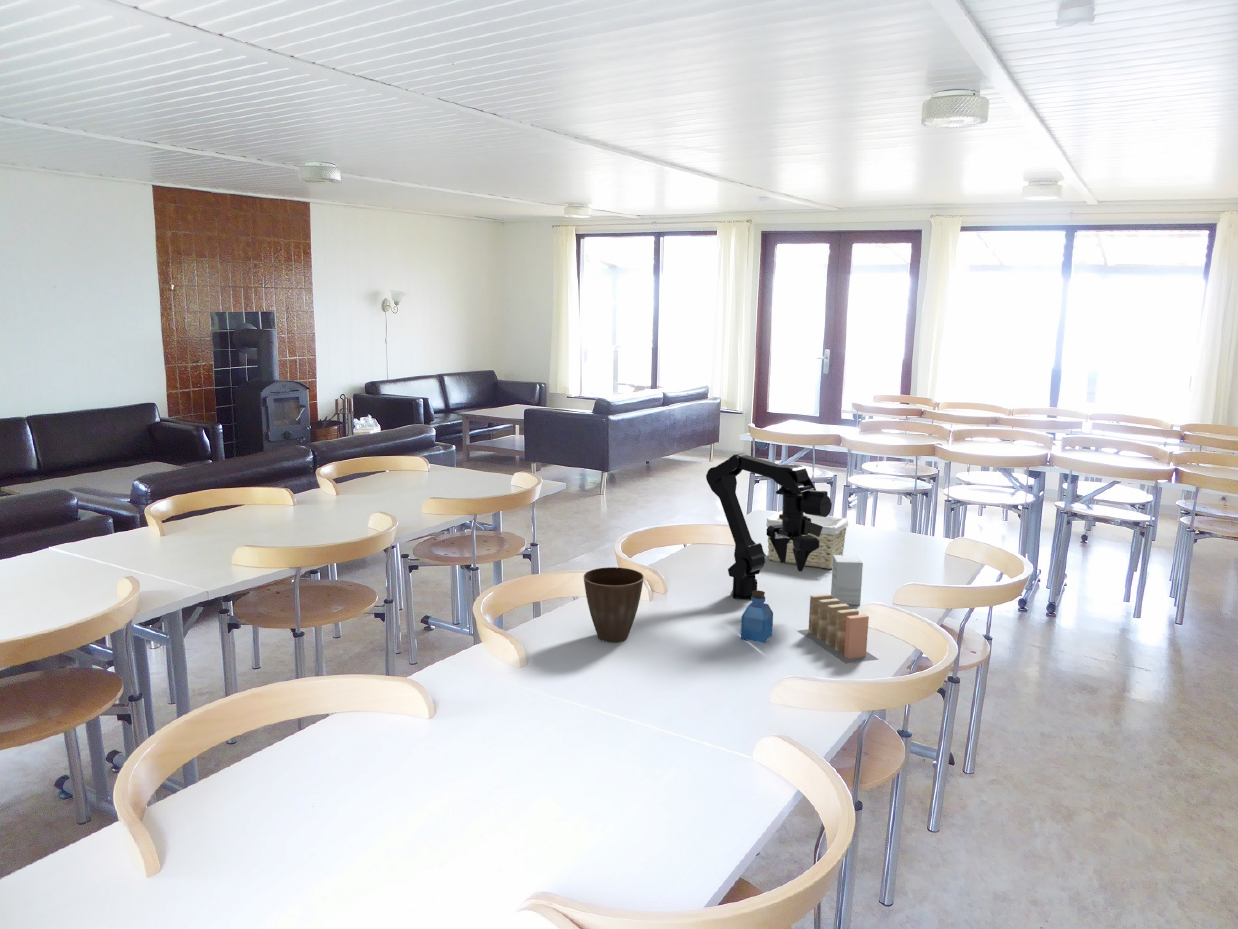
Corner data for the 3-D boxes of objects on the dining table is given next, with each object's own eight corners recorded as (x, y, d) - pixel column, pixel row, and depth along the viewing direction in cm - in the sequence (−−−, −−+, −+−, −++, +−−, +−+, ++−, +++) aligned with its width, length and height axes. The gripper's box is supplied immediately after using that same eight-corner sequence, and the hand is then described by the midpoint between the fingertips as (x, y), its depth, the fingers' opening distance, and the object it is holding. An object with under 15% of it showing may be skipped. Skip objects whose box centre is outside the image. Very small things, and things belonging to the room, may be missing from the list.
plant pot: (636, 651, 204) (637, 587, 201) (576, 645, 207) (577, 582, 204) (646, 629, 218) (648, 569, 215) (590, 624, 221) (591, 565, 218)
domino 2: (816, 638, 213) (819, 600, 211) (833, 636, 215) (836, 598, 213) (820, 640, 212) (822, 602, 210) (837, 638, 213) (839, 600, 211)
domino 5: (844, 656, 202) (846, 616, 200) (861, 653, 203) (864, 614, 202) (848, 658, 200) (850, 618, 199) (865, 656, 202) (868, 616, 200)
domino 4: (834, 650, 206) (837, 610, 204) (852, 647, 207) (854, 608, 205) (838, 652, 204) (840, 613, 202) (856, 650, 206) (858, 611, 204)
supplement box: (855, 597, 246) (858, 555, 244) (860, 605, 239) (863, 562, 237) (830, 596, 247) (832, 554, 245) (834, 604, 240) (836, 561, 238)
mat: (797, 631, 218) (797, 630, 218) (827, 628, 221) (827, 627, 221) (845, 664, 198) (846, 663, 198) (878, 660, 201) (878, 659, 201)
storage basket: (762, 560, 283) (764, 517, 281) (779, 549, 297) (781, 508, 294) (833, 572, 271) (835, 527, 269) (847, 560, 285) (849, 517, 283)
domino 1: (808, 632, 217) (810, 595, 215) (825, 630, 218) (827, 593, 217) (811, 634, 215) (813, 597, 214) (828, 632, 217) (830, 595, 215)
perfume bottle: (740, 639, 212) (742, 593, 210) (748, 631, 218) (750, 587, 216) (764, 644, 210) (766, 597, 207) (772, 636, 215) (774, 591, 213)
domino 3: (825, 644, 209) (827, 605, 208) (843, 642, 211) (845, 603, 209) (829, 646, 208) (831, 607, 206) (846, 644, 209) (849, 605, 208)
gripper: (837, 516, 225) (835, 573, 227) (800, 503, 242) (799, 556, 244) (801, 519, 221) (799, 577, 223) (766, 506, 239) (765, 560, 241)
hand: (791, 567), depth 233 cm, fingers open, 9 cm apart
